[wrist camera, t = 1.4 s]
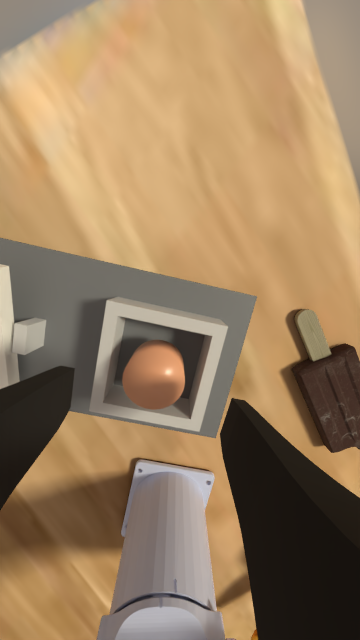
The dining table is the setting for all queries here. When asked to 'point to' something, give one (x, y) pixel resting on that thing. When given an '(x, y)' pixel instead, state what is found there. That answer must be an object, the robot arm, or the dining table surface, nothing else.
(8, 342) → the rocker switch
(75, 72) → the dining table surface
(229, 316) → the grey board with tray
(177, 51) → the dining table surface
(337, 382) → the ice cream bar
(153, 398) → the button
